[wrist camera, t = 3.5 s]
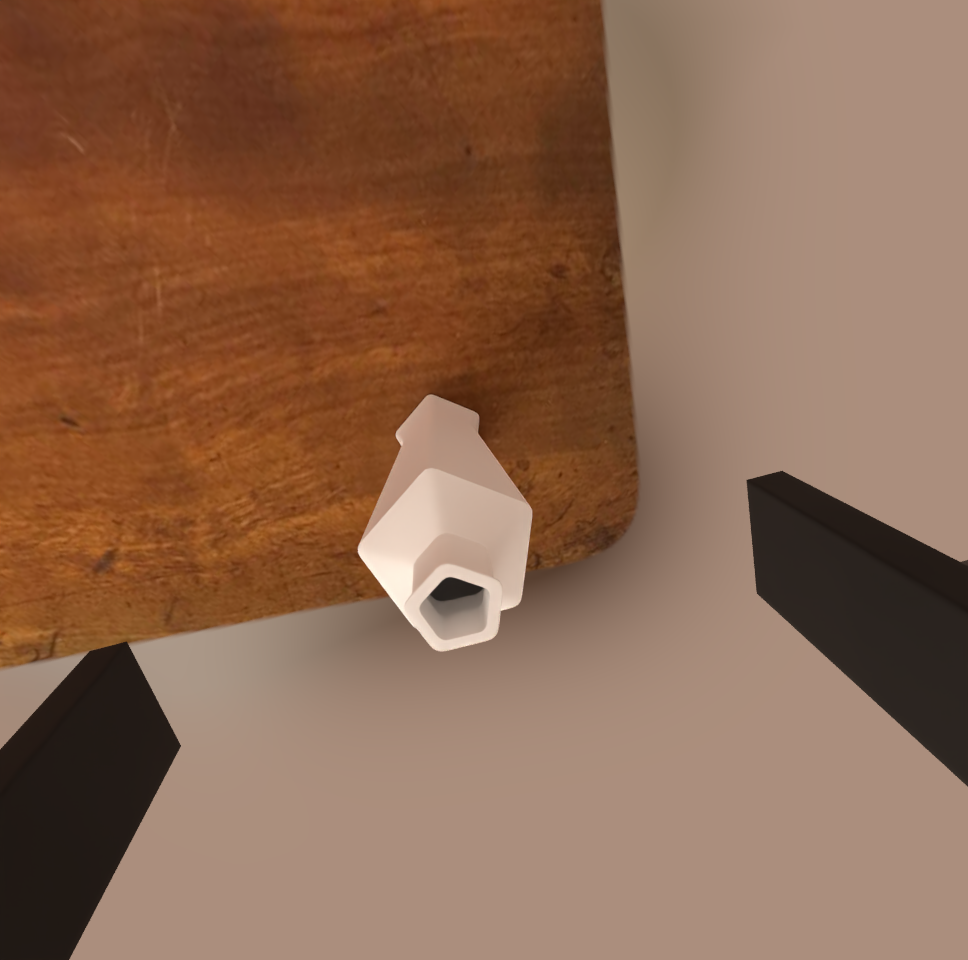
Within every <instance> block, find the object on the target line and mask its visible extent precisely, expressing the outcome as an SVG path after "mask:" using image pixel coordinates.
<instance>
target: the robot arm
mask: <svg viewBox="0 0 968 960" xmlns="http://www.w3.org/2000/svg"><path fill="white" fill-rule="evenodd" d="M747 488H748V500H749V512H750V523H751V534H752V545H753V556H754V566H755V578H756V589H757V594H758V595H759V596H761V598H763V599H764V600H765V601H766V602H767V603H768V604H769V605H770V606H771V607H772V608H773V609H775V610H776V611H777V612H778V613H779V614H780V615H781V616H782V617H783V618H784V619H785V620H787V621H788V622H789V623H790V624H791V625H792V626H793V627H794V628H795V629H796V630H797V631H799V632H800V633H801V634H802V635H803V636H804V637H805V638H806V639H807V640H808V641H810V642H811V643H812V644H813V645H814V646H815V647H816V648H817V649H818V650H819V651H820V652H822V653H823V654H824V655H825V656H826V657H827V658H828V659H829V660H830V661H831V662H833V664H835V665H836V666H837V667H838V668H839V669H840V670H841V671H842V672H843V673H844V674H846V675H847V676H848V677H849V678H850V679H851V680H852V681H853V682H854V683H855V684H856V685H858V686H859V687H860V688H861V689H862V690H863V691H864V692H865V693H866V694H867V695H868V696H870V697H871V698H872V699H873V700H874V701H875V702H876V703H877V704H878V705H879V706H881V707H882V708H883V709H884V710H885V711H886V712H887V713H888V714H889V715H890V716H891V717H893V718H894V719H895V720H896V721H897V722H898V723H899V724H900V725H901V726H902V727H903V728H904V729H906V730H907V731H908V732H909V733H910V734H911V735H912V736H913V737H915V738H916V739H917V740H918V741H919V742H920V743H921V744H922V745H923V746H924V747H925V748H926V749H927V750H929V751H930V752H931V753H932V754H933V755H934V756H935V757H936V758H937V759H939V760H940V761H941V762H942V763H943V764H944V765H945V766H946V767H947V768H948V769H949V770H950V771H951V772H953V773H954V774H955V775H956V776H957V777H958V778H959V779H960V780H961V781H962V782H963V783H965V784H966V785H967V786H968V560H967V561H963V562H959V561H957V560H955V559H953V558H951V557H949V556H947V555H945V554H943V553H941V552H939V551H937V550H936V549H933V548H931V547H930V546H927V545H926V544H924V543H922V542H920V541H918V540H916V539H914V538H912V537H910V536H908V535H906V534H904V533H902V532H900V531H898V530H896V529H895V528H892V527H891V526H889V525H887V524H884V523H883V522H881V521H879V520H877V519H875V518H873V517H871V516H869V515H867V514H865V513H863V512H861V511H859V510H857V509H855V508H853V507H852V506H850V505H848V504H846V503H844V502H842V501H840V500H838V499H836V498H834V497H832V496H830V495H828V494H826V493H824V492H822V491H820V490H818V489H816V488H814V487H813V486H811V485H809V484H807V483H805V482H803V481H801V480H799V479H797V478H795V477H793V476H791V475H789V474H787V473H785V472H783V471H780V472H776V473H772V474H768V475H764V476H760V477H757V478H753V479H749V480H747ZM180 747H181V745H180V743H179V741H178V739H177V737H176V735H175V734H174V732H173V730H172V728H171V726H170V724H169V722H168V720H167V718H166V716H165V715H164V712H163V711H162V709H161V707H160V705H159V703H158V701H157V699H156V697H155V695H154V693H153V691H152V689H151V687H150V685H149V684H148V682H147V680H146V678H145V676H144V674H143V672H142V670H141V668H140V666H139V665H138V663H137V661H136V659H135V657H134V655H133V653H132V651H131V649H130V647H129V645H128V643H127V642H123V643H120V644H116V645H112V646H108V647H104V648H100V649H96V650H93V651H89V653H88V654H87V655H86V656H85V657H84V658H83V659H82V660H81V661H80V662H79V664H78V665H77V666H76V667H75V668H74V669H73V670H72V671H71V672H70V673H69V675H68V676H67V677H66V678H65V679H64V680H63V681H62V682H61V683H60V685H59V686H58V687H57V688H56V689H55V690H54V691H53V692H52V693H51V694H50V695H49V697H48V698H47V699H46V700H45V701H44V702H43V703H42V704H41V705H40V706H39V708H38V709H37V710H36V711H35V712H34V713H33V714H32V715H31V716H30V717H29V719H28V720H27V721H26V722H25V723H24V724H23V725H22V726H21V727H20V729H19V730H18V731H17V732H16V733H15V734H14V735H13V736H12V737H11V738H10V739H9V741H8V742H7V743H6V744H5V745H4V746H3V747H2V748H1V749H0V960H69V959H70V957H71V955H72V953H73V951H74V949H75V947H76V945H77V943H78V942H79V940H80V938H81V936H82V934H83V932H84V930H85V928H86V926H87V924H88V922H89V921H90V919H91V917H92V915H93V913H94V911H95V909H96V907H97V905H98V903H99V901H100V900H101V898H102V896H103V894H104V892H105V890H106V888H107V886H108V884H109V882H110V880H111V879H112V876H113V874H114V873H115V871H116V869H117V867H118V865H119V863H120V861H121V859H122V857H123V856H124V854H125V852H126V850H127V848H128V846H129V844H130V842H131V840H132V838H133V836H134V835H135V833H136V831H137V829H138V827H139V825H140V823H141V821H142V819H143V817H144V815H145V813H146V812H147V810H148V808H149V806H150V804H151V802H152V800H153V798H154V796H155V794H156V793H157V791H158V789H159V786H160V785H161V783H162V781H163V779H164V777H165V775H166V773H167V772H168V770H169V768H170V766H171V764H172V762H173V760H174V758H175V756H176V754H177V752H178V751H179V749H180Z"/></svg>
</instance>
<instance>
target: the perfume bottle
mask: <svg viewBox="0 0 968 960" xmlns="http://www.w3.org/2000/svg"><path fill="white" fill-rule="evenodd" d="M478 428H479V415H478V413H476V412H474V411H472V410H470V409H467V408H465V407H462V406H460V405H457V404H455V403H452V402H450V401H448V400H445V399H443V398H440V397H438V396H435V395H427V396H426V397H425V398H424V399H423V401H422V402H421V403H420V404H419V405H418V406H417V408H416V409H415V410H414V411H413V412H412V414H411V415H410V416H409V417H408V418H407V419H406V421H405V422H404V423H403V424H402V425H401V427H400V428H399V429H398V430H397V432H396V438H397V440H398V441H399V443H400V444H401V446H402V447H401V449H400V451H399V454H398V456H397V458H396V461H395V463H394V465H393V468H392V470H391V472H390V474H389V477H388V479H387V481H386V484H385V486H384V488H383V491H382V493H381V495H380V498H379V500H378V502H377V504H376V507H375V509H374V511H373V514H372V516H371V518H370V521H369V523H368V525H367V527H366V530H365V532H364V534H363V537H362V539H361V541H360V544H359V546H358V553H359V555H360V557H361V559H362V560H363V561H364V563H365V564H366V565H367V567H368V568H369V569H370V571H371V572H372V573H373V574H374V576H375V577H376V578H377V580H378V581H379V582H380V584H381V585H382V586H383V588H384V589H385V590H386V592H387V593H388V594H389V596H390V597H391V598H392V600H393V601H394V602H395V604H396V605H397V606H398V608H399V609H400V610H401V611H402V613H403V614H404V616H405V617H406V618H407V619H408V620H409V622H410V623H411V625H412V626H414V627H415V628H417V629H418V631H419V632H420V633H421V635H422V636H423V637H424V639H425V640H426V641H427V642H428V644H429V645H430V646H431V647H432V648H433V649H434V650H437V651H448V650H452V649H456V648H460V647H464V646H468V645H472V644H476V643H480V642H484V641H487V640H490V639H492V638H493V637H494V636H495V635H496V634H497V632H498V629H499V621H500V614H501V610H505V609H509V608H512V607H515V606H517V605H518V604H519V603H520V601H521V598H522V591H523V584H524V576H525V568H526V561H527V553H528V545H529V537H530V530H531V522H532V509H531V507H530V506H529V504H528V503H527V501H526V500H525V498H524V497H523V496H522V494H521V493H520V491H519V490H518V489H517V487H516V486H515V484H514V483H513V482H512V480H511V479H510V477H509V476H508V475H507V473H506V472H505V470H504V469H503V468H502V466H501V465H500V463H499V462H498V461H497V459H496V458H495V456H494V455H493V454H492V452H491V451H490V449H489V448H488V447H487V445H486V444H485V442H484V441H483V440H482V438H481V437H480V436H479V434H478Z"/></svg>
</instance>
